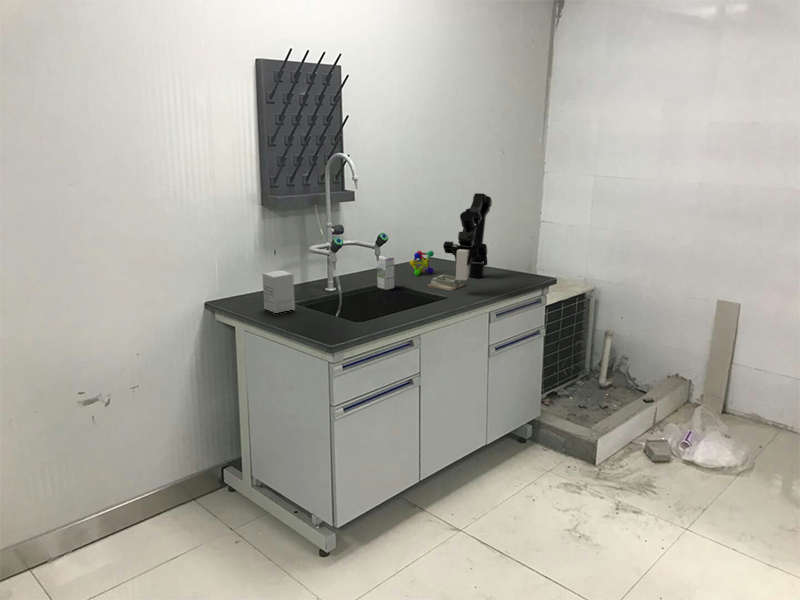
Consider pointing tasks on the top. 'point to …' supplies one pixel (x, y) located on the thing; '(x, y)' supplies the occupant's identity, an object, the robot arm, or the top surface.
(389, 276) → the syrup box
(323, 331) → the top surface
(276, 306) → the supplement box
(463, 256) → the fuselage block
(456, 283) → the jig
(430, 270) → the molecular model
